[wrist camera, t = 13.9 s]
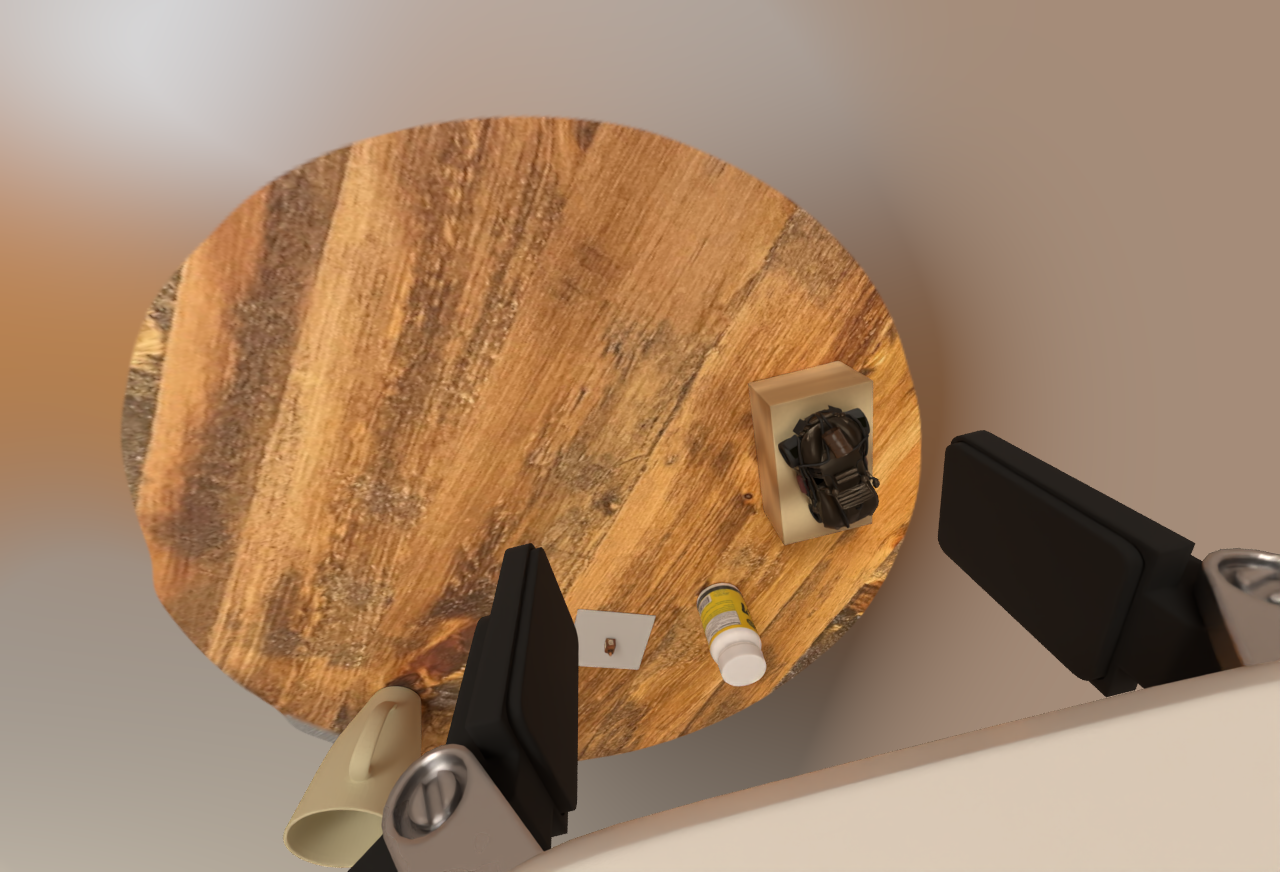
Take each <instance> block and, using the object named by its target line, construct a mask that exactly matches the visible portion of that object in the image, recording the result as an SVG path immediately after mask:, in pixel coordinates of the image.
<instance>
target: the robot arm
mask: <svg viewBox="0 0 1280 872" xmlns="http://www.w3.org/2000/svg"><path fill="white" fill-rule="evenodd" d="M938 541H939V544H940V547H941V548H942V550H943V551H944V553H945V554H946V555H947V556H948V557H950V558H951V559H952V560H953V561H954V562H955V563H956V564H957V565H958V566H959V567H960V568H961V569H962V570H963V571H964V572H966V573H967V574H968V575H969V576H970V577H971V578H972V579H973V580H974V581H975V582H976V583H977V584H978V585H979V586H981V587H982V589H984V590H985V591H986V592H987V593H988V594H989V595H990V596H991V597H992V598H993V599H994V600H995V601H996V602H997V603H998V604H1000V605H1001V606H1002V607H1003V608H1004V609H1005V610H1006V611H1007V612H1008V613H1009V614H1010V615H1011V616H1012V617H1013V618H1014V619H1016V620H1017V621H1018V622H1019V623H1020V624H1021V625H1022V626H1023V627H1024V628H1025V629H1026V630H1027V631H1029V633H1031V634H1032V635H1033V636H1034V637H1035V638H1036V639H1037V640H1038V641H1039V642H1040V643H1041V644H1042V645H1043V646H1044V647H1045V648H1047V650H1048V651H1050V652H1051V653H1052V654H1053V655H1054V656H1055V657H1056V658H1057V659H1058V660H1059V661H1060V662H1061V663H1062V664H1063V665H1064V666H1065V667H1067V668H1068V669H1069V670H1070V671H1071V672H1072V673H1073V674H1074V675H1076V676H1077V677H1078V678H1080V679H1082V680H1086V681H1089V682H1090V683H1091V684H1092V685H1094V686H1095V687H1096V688H1097V689H1098V690H1099V691H1100V692H1101V693H1102V694H1103V695H1104V696H1106V697H1109V696H1113V695H1117V694H1121V693H1125V692H1129V691H1133V690H1135V689H1136V687H1137V684H1139V685H1141V686H1142V687H1143V688H1144V689H1141V690H1137V691H1133V692H1129V693H1125V694H1121V695H1118V696H1113V697H1109V698H1105V699H1101V700H1097V701H1093V702H1089V703H1085V704H1081V705H1077V706H1072V707H1068V708H1064V709H1060V710H1057V711H1052V712H1048V713H1044V714H1040V715H1036V716H1032V717H1028V718H1024V719H1020V720H1016V721H1011V722H1007V723H1003V724H999V725H996V726H992V727H988V728H984V729H980V730H976V731H972V732H968V733H964V734H960V735H956V736H952V737H948V738H944V739H940V740H936V741H932V742H928V743H924V744H920V745H916V746H912V747H908V748H905V749H900V750H896V751H892V752H888V753H884V754H881V755H877V756H873V757H869V758H865V759H861V760H857V761H853V762H849V763H845V764H841V765H837V766H833V767H829V768H825V769H822V770H818V771H814V772H810V773H806V774H802V775H798V776H795V777H791V778H787V779H783V780H779V781H775V782H771V783H768V784H764V785H760V786H756V787H752V788H748V789H744V790H740V791H736V792H733V793H729V794H725V795H721V796H717V797H714V798H710V799H706V800H702V801H698V802H695V803H691V804H688V805H684V806H680V807H677V808H673V809H670V810H666V811H662V812H659V813H655V814H652V815H648V816H645V817H641V818H638V819H634V820H630V821H627V822H623V823H619V824H616V825H613V826H610V827H607V828H604V829H601V830H598V831H595V832H592V833H589V834H586V835H584V836H581V837H577V838H575V839H572V840H569V841H567V842H565V843H562V844H560V845H558V846H556V847H553V848H551V837H554V836H558V835H562V834H566V833H567V826H568V812H569V811H573V810H575V809H576V805H577V765H578V665H579V642H578V635H577V631H576V628H575V625H574V623H573V620H572V618H571V615H570V613H569V610H568V608H567V605H566V603H565V600H564V598H563V596H562V593H561V591H560V588H559V586H558V583H557V581H556V578H555V576H554V573H553V571H552V568H551V566H550V563H549V561H548V559H547V556H546V554H545V551H544V549H543V548H542V547H540V548H536V549H535V547H534V545H533V544H532V543H529V544H525V545H521V546H517V547H513V548H509V549H507V550H506V551H505V554H504V558H503V562H502V567H501V571H500V575H499V580H498V584H497V588H496V593H495V597H494V601H493V606H492V610H491V614H490V615H489V616H485V617H482V618H481V619H480V620H479V621H478V623H477V626H476V629H475V633H474V637H473V641H472V645H471V649H470V652H469V656H468V660H467V664H466V668H465V672H464V676H463V680H462V683H461V687H460V691H459V695H458V699H457V703H456V707H455V711H454V714H453V718H452V722H451V726H450V730H449V734H448V738H447V742H446V745H442V746H439V747H437V748H435V749H432V750H430V751H428V752H426V753H425V754H424V755H422V756H421V757H420V758H418V759H417V760H416V761H414V762H413V763H412V764H411V765H410V766H409V767H408V768H407V770H406V771H405V772H404V773H403V774H402V775H401V776H400V778H399V779H398V781H397V782H396V784H395V785H394V787H393V789H392V790H391V792H390V794H389V797H388V799H387V802H386V804H385V807H384V809H383V816H382V823H381V827H382V832H383V834H382V835H381V837H380V838H379V839H378V840H377V841H376V842H375V843H374V844H373V845H372V846H371V847H370V848H369V849H368V850H367V851H366V852H365V854H364V855H363V856H362V857H361V858H360V859H359V860H358V861H357V862H356V863H355V864H354V865H353V866H352V867H351V869H350V870H349V871H348V872H1280V554H1274V553H1269V552H1265V551H1260V550H1252V549H1241V548H1233V549H1220V550H1218V551H1215V552H1212V553H1209V554H1208V555H1207V556H1206V558H1205V559H1204V560H1203V561H1201V560H1199V559H1197V558H1195V557H1194V556H1192V555H1191V553H1192V550H1193V548H1194V545H1195V543H1194V542H1192V541H1190V540H1188V539H1186V538H1185V537H1183V536H1181V535H1179V534H1177V533H1175V532H1173V531H1171V530H1170V529H1168V528H1166V527H1164V526H1162V525H1160V524H1159V523H1157V522H1155V521H1153V520H1151V519H1149V518H1147V517H1146V516H1143V515H1142V514H1140V513H1138V512H1136V511H1134V510H1133V509H1131V508H1129V507H1127V506H1125V505H1123V504H1122V503H1119V502H1118V501H1116V500H1114V499H1112V498H1110V497H1109V496H1107V495H1105V494H1103V493H1101V492H1099V491H1097V490H1095V489H1094V488H1092V487H1090V486H1088V485H1086V484H1084V483H1083V482H1081V481H1079V480H1077V479H1075V478H1073V477H1071V476H1069V475H1068V474H1066V473H1064V472H1062V471H1060V470H1058V469H1057V468H1055V467H1053V466H1051V465H1049V464H1047V463H1045V462H1044V461H1042V460H1040V459H1038V458H1036V457H1034V456H1032V455H1031V454H1029V453H1027V452H1025V451H1023V450H1021V449H1020V448H1018V447H1016V446H1014V445H1012V444H1010V443H1008V442H1007V441H1005V440H1003V439H1001V438H999V437H997V436H995V435H994V434H992V433H990V432H987V431H985V430H983V431H976V432H972V433H968V434H964V435H960V436H957V437H955V438H954V439H953V440H952V442H951V445H949V446H948V447H947V448H946V451H945V461H944V473H943V485H942V496H941V507H940V518H939V529H938Z"/></svg>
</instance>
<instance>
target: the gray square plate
mask: <svg viewBox="0 0 1280 872" xmlns="http://www.w3.org/2000/svg"><path fill="white" fill-rule="evenodd" d="M655 617H656V616H652V615H640V614H629V613H617V612H606V611H594V610H582V609H578V612H577V616H576V621H575V628H576V631H577V635H578V642H579V665H578V666H589V667H605V668H621V669H637V670H638V669H639V666H640V663H641V660H642V657H643V654H644V651H645V648H646V644H647V641H648V638H649V635H650V632H651V629H652V626H653V623H654V620H655Z"/></svg>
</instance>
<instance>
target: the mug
mask: <svg viewBox="0 0 1280 872" xmlns="http://www.w3.org/2000/svg"><path fill="white" fill-rule="evenodd" d="M420 757H421V699H420V697H419V696H418V694H417V693H415V692H414V691H412V690H410V689H408V688H405V687H399V686H392V687H386V688H383V689H381V690H379V691H377V692H376V693H375V694H374V695H373V696H372V697H371V699H370V700H369V701H368V702H367V703H366V705H365V706H364V707H363V708H362V709H361V711H360V712H359V713H358V714H357V715H356V716H355V718H354V719H353V720H352V721H351V722H350V724H349V725H348V726H347V727H346V728H345V730H344V731H343V732H342V733H341V735H340V736H339V737H338V739H337V740H336V741H335V743H334V744H333V746H332V747H331V749H330V750H329V752H328V754H327V755H326V757H325V758H324V760H323V762H322V764H321V765H320V767H319V769H318V771H317V772H316V774H315V776H314V778H313V779H312V781H311V783H310V785H309V787H308V789H307V790H306V792H305V794H304V796H303V798H302V800H301V801H300V803H299V805H298V807H297V809H296V810H295V812H294V814H293V816H292V818H291V820H290V821H289V823H288V825H287V827H286V829H285V832H284V835H283V840H284V844H285V846H286V847H287V849H288V850H289V851H290V852H291V853H293V854H294V855H295V856H297V857H298V858H300V859H302V860H305V861H307V862H310V863H313V864H317V865H321V866H327V867H337V868H340V867H341V868H349V867H352V866H353V865H354V864H355V863H356V862H357V861H358V860H359V859H360V858H361V857H362V856H363V855H364V854H365V852H366V851H367V850H368V849H369V848H370V847H371V846H372V845H373V844H374V843H375V842H376V841H377V840H378V839H379V838H380V837H381V835H382V834H383V832H382V827H381V823H382V816H383V809H384V807H385V804H386V802H387V799H388V797H389V794H390V792H391V790H392V789H393V787H394V785H395V784H396V782H397V781H398V779H399V778H400V776H401V775H402V774H403V773H404V772H405V771H406V770H407V768H408V767H409V766H410V765H411V764H412V763H413V762H414V761H416V760H417V759H418V758H420Z"/></svg>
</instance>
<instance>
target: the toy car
mask: <svg viewBox="0 0 1280 872" xmlns="http://www.w3.org/2000/svg"><path fill="white" fill-rule="evenodd" d="M828 407H829V409H827V410H826V409H824V410H821V411H818V412H815V413H816V414H814V413H813V414H811V415H810V416H808V417H806V418H805V420H802V419H799V421H798V423H797V424H796V426H795V428H794V429H793V432H794V433H796V434H797V435H799V436H798V437H797V436H796V435H795V434H794V435H793V436H792V437H791V438H788V439H786V440H784V441H782V442H780V443H779V444H778V449H779V451H780V453H781V455H782V457H783V459H784V460H785V462H786V463H787V464H788V465H789V466H790V467H791V468H793V469H794V470H795V471H796V473H797V475H796V481H797V482H798V485H799V488H800V491H801V492H802V493H804V494H806V495H807V496H808V498H809V502H810V504H809V505H808V506H809V510H810V513H811V514H812V516H813V518H814V519H815V520H816V521H817V522H818V523H823V524H824V527H825V528H828V529H829V528H830V529H835V530H839V529H840V528H842V527H845V526H846V528H849V527H850V524H853V523H855V522H857V521H859V520H861V519H863V518H866V517H867V516H868V515H869V516H872V515H873V513H874V512H875V510H876V508H877V506H878V504H879V503H878V502H879V500H878V495H877V493H876V491H875V489H874V488H873V486H874V487H875V488H878V486H879V485H880V484H879V483H880V482H879V481H878V479H877V478H875V477H873V476H872V477H870V475H871V474H870V472H868V460H867V457H866V456H867V454H868V449H869V441H868V437H869V435H868V434H869V433H870V426H869V422H868V420H867V417H866V416H865V414H864V413H863V412H862V410H861V409H859V408H855V409H852V410H849V411H846V412H842V410H841V409H840V408H836V407H833V406H829V405H828ZM838 415H840V416H839V417H838ZM804 429H805V430H806V431H807V432H806V433H805V430H804ZM797 466H798V468H799V470H797V469H795V467H797ZM866 471H867V472H866ZM871 479H872V480H873V482H872V484H873V486H872V484H871V483H870V481H869V480H871ZM809 491H810V492H809Z"/></svg>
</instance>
